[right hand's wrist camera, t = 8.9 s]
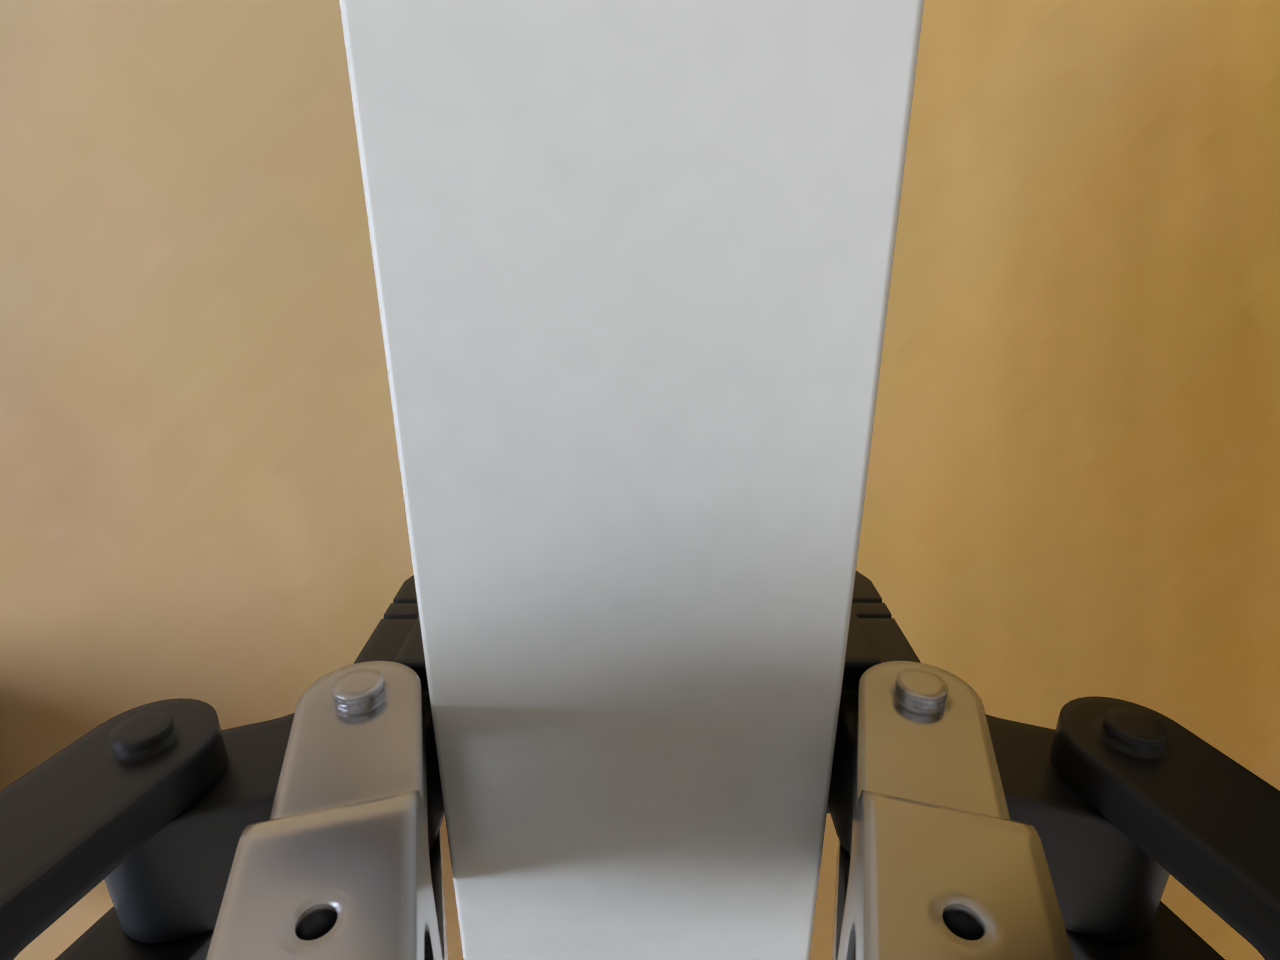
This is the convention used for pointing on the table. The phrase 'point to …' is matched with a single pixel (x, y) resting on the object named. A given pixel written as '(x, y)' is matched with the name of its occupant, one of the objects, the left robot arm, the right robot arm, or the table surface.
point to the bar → (633, 438)
